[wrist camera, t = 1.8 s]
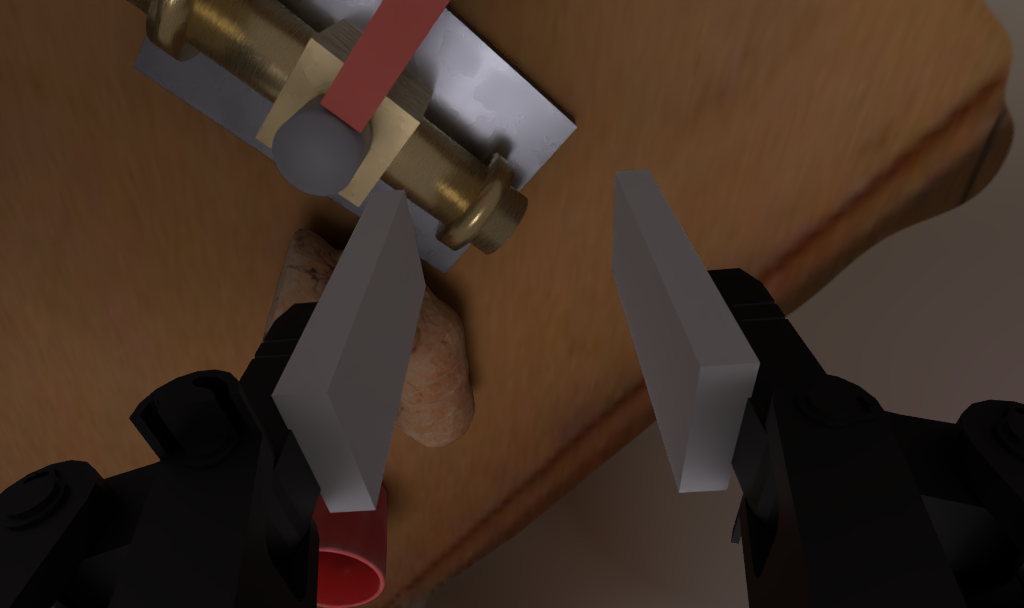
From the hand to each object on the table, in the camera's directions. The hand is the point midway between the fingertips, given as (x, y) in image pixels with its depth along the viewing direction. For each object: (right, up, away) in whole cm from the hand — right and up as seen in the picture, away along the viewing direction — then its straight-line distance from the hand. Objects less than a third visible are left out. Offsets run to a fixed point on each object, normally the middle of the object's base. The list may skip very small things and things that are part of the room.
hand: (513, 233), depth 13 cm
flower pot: (-17, -22, +44) cm, 52 cm away
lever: (-5, +11, +11) cm, 16 cm away
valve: (-9, +11, +20) cm, 24 cm away
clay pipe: (-11, -2, +30) cm, 32 cm away
